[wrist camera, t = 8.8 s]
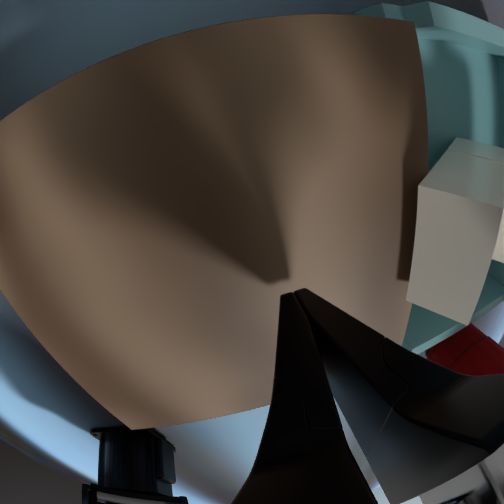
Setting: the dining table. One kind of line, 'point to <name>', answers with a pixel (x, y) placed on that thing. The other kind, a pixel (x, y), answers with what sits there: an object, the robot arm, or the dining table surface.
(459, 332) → the plastic cup
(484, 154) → the tile
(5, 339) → the dining table surface
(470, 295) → the tile
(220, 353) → the walnut plate
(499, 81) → the box
